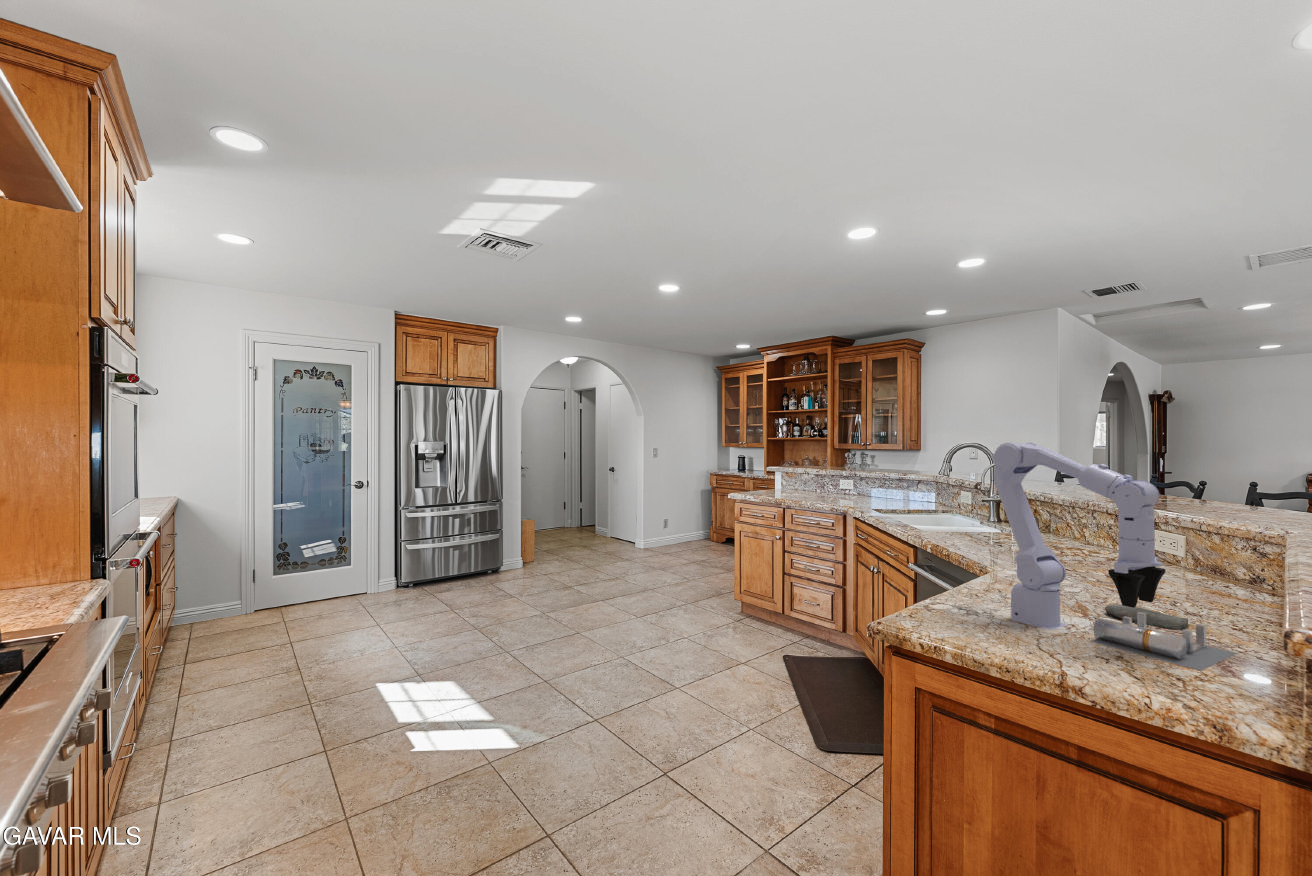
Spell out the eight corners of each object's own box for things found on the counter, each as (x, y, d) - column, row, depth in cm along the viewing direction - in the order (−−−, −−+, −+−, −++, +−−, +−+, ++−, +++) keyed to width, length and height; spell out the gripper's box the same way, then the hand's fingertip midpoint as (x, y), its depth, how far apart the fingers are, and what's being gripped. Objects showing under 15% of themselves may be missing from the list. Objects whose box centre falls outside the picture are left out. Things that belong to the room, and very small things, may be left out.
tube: (1093, 639, 120) (1093, 619, 121) (1103, 636, 123) (1103, 616, 123) (1177, 661, 108) (1177, 638, 108) (1187, 657, 110) (1186, 635, 110)
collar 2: (1182, 652, 113) (1182, 630, 113) (1198, 645, 117) (1198, 623, 117) (1190, 654, 112) (1189, 631, 112) (1206, 647, 116) (1206, 625, 116)
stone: (1100, 619, 136) (1183, 643, 126) (1102, 603, 136) (1186, 626, 125) (1108, 605, 144) (1187, 627, 133) (1110, 591, 143) (1190, 611, 132)
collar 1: (1123, 637, 122) (1122, 617, 122) (1139, 631, 126) (1139, 611, 126) (1129, 639, 121) (1129, 618, 121) (1146, 633, 125) (1146, 613, 125)
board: (1089, 644, 120) (1089, 641, 120) (1129, 630, 128) (1129, 627, 128) (1201, 673, 104) (1201, 670, 104) (1237, 656, 112) (1237, 653, 112)
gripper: (1144, 544, 109) (1145, 613, 109) (1176, 538, 116) (1177, 603, 115) (1101, 539, 115) (1103, 604, 115) (1134, 533, 122) (1135, 595, 122)
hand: (1137, 603), depth 115 cm, fingers open, 7 cm apart
